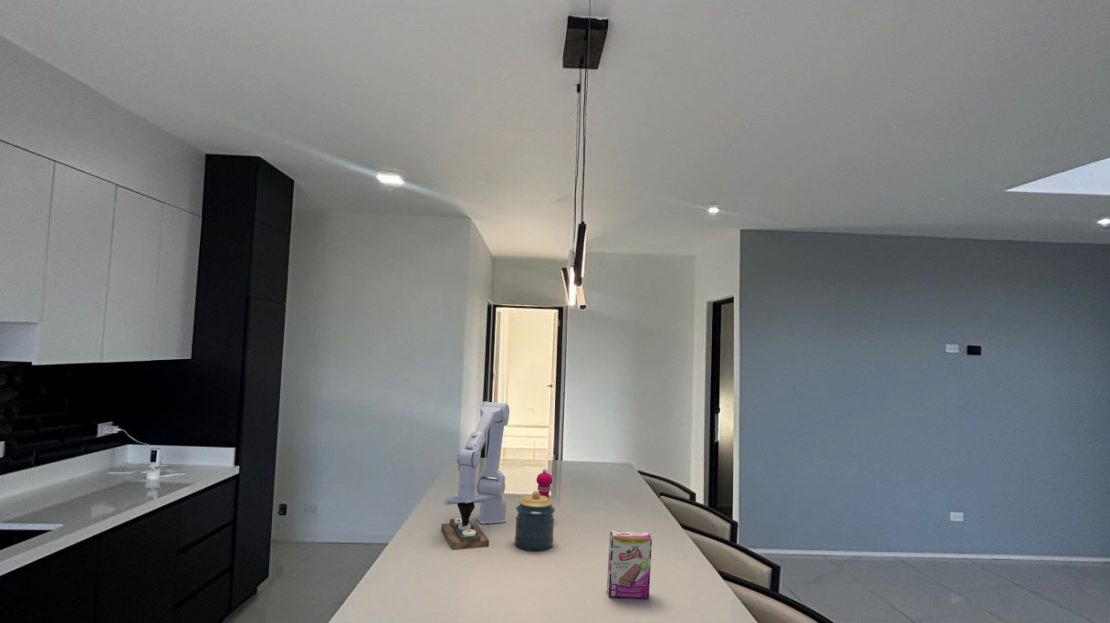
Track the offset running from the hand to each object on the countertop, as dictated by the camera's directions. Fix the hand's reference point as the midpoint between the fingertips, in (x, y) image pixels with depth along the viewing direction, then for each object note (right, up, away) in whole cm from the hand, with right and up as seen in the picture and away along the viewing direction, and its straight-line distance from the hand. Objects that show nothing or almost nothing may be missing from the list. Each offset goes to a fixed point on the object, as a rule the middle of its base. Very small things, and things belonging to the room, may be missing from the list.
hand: (464, 525), depth 195 cm
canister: (+24, -5, -4) cm, 25 cm away
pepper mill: (+26, -7, +20) cm, 34 cm away
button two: (-2, -2, +6) cm, 7 cm away
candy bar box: (+51, -5, -39) cm, 64 cm away
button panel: (0, -4, 0) cm, 4 cm away
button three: (0, -2, 0) cm, 2 cm away
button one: (+2, -2, -6) cm, 7 cm away
